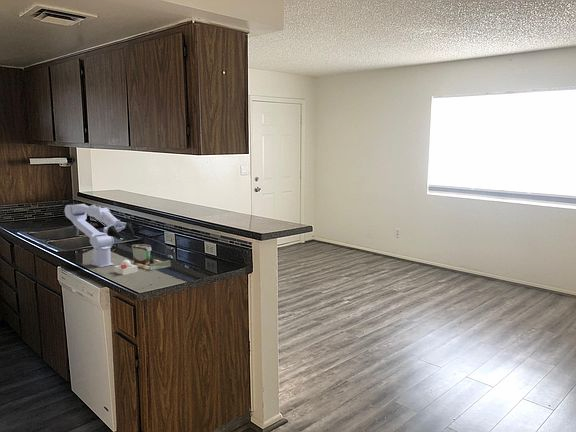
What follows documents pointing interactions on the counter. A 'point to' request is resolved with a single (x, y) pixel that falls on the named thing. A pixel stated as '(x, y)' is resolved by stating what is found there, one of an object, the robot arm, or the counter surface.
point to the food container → (141, 254)
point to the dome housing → (125, 269)
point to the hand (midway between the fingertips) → (127, 236)
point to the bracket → (155, 265)
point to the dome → (126, 263)
